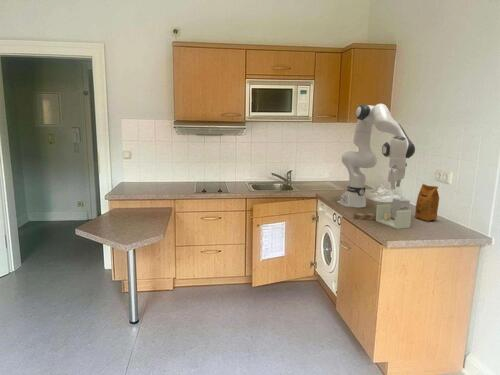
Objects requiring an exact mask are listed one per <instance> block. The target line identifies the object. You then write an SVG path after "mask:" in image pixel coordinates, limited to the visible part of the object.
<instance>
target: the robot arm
mask: <svg viewBox="0 0 500 375" xmlns="http://www.w3.org/2000/svg"><path fill="white" fill-rule="evenodd" d="M355 118H356V119H358V120H357V123H356V125H355V130H354V136H353V143H354V145H355V146H356V147H357V148H358V151H346V152H344V153H343V155H342V157H341V163H342V164H343V165H344V166H345V168H346V169H347V172H348V186H346V188H347V190H346V191H344V192H343V193H341V196H340V199H339V200H337V201H336V202H337V203H338V204H339V205H342V206H343V207H349V208H359V209H361V208H366V207H367V202H366V201H367V200H366V193H365V192H366V175H365V173H363V172H362V171H361V169H371V168H373V169H374V167H375V166H376V165H377V161H378V158H377V156H376V155H375V153H374V152H373V151H372V148H371V136H372V129H373V126H374V127H375V128H376V129H377V130H378V131H380V132H382V133H387V134H390V135H393V137H392V138H391V140H389V141H386V142H384V144H383V145H382V146H381V147H382V148H381V153H382V155H383V157H385V158H389V163H388V164H389V165H388V167H389V168H390V169H389V170H388V176H387V182H388V183H390V186H391V187H390V189H391V190H395V189H396V188H399V187H401V182H402V180H403V179H405V176H406V175H405V174H406V168H407V166H408V164H407V159H410V158H412V156H414V154H415V151H416V147H415V144H414V143H413V142H412V141H411V139H410V138H409V136H408V135H407V132H406V131H405V129H404V127H402V125H401V124H400V123H399V122H397V121H396V120H395V119H394V118H393V116H392V114H391V111H390V110H389V108H388V107H387V105H386V104H383V103H377V104H376V105H370V104H369V105H367V104H359V106H357V108H356V110H355Z"/></svg>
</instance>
